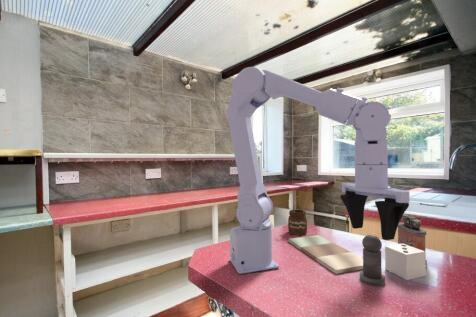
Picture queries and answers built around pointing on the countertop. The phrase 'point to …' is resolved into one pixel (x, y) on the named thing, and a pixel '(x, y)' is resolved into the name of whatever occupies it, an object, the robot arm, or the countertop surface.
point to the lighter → (411, 233)
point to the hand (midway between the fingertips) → (371, 233)
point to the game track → (328, 254)
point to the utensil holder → (297, 221)
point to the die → (405, 261)
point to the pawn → (372, 261)
